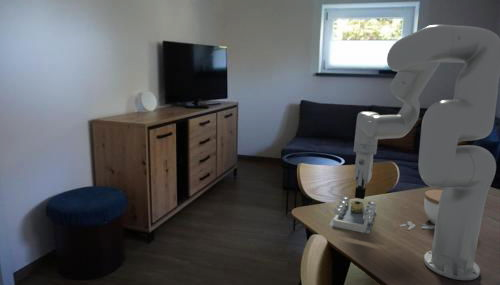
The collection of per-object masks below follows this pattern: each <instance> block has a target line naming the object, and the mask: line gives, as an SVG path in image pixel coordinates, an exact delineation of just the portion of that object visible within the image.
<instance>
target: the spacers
mask: <svg viewBox="0 0 500 285" xmlns="http://www.w3.org/2000/svg"><path fill="white" fill-rule="evenodd" d="M367 203H368V204H367V205H366V208H367V209H366V210H365V213H364V215H363V224H364V221H365V219H367V220H368V225H367V226H370V225H371V223H372V221H373V222H374V220H373V217H374V213H375V212H376V213H377V211H376V210H377V202H375V201H370V200H369V201H368V202H367ZM349 205H350V198H349V197H348V196H341V199H340V200H339V202H338V204H336V208H334V214H333V217H334V218H335V216H336V214H339V220H341V219H342V216H344V212H346V211H347V207H349ZM374 218H375V217H374ZM372 224H373V223H372Z"/></svg>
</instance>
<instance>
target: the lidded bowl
mask: <svg viewBox="0 0 500 285" xmlns="http://www.w3.org/2000/svg"><path fill="white" fill-rule="evenodd" d="M442 191H443V189H430V190H427V191H425V192H424V200H423V201H424V202H423V207H424V212H425V214H426V217H427V218H428V219H429V220H430V223H432V224H433V225H436V218H437V212H438V205H439V200H440V196H441V193H442Z"/></svg>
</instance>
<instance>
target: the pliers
mask: <svg viewBox="0 0 500 285" xmlns="http://www.w3.org/2000/svg"><path fill="white" fill-rule="evenodd" d="M406 223H407V224H406ZM406 223H403V224H400V225H398V227H399V228H404V227H408V228H407V231H411V230H413V229H415V228H416V224H414V223H413V222H412V221H409V220H408V221H407V222H406ZM420 229H421V230H433V229H434V230H435V224H433V225H429V224H422V223H421V227H420Z"/></svg>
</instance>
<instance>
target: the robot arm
mask: <svg viewBox="0 0 500 285" xmlns="http://www.w3.org/2000/svg"><path fill="white" fill-rule="evenodd" d="M386 63H387V66H388V68H389V69H390V70H391V71H393V72H396V74H395V76H394V78H393V80H392V81H391V83H390V85H389V89H390V92H391V94H392V95H394V96H395V97H396V99H398V100H400V101H402V102H403V105H402V107H401V108H400V110H399V112H398V113H397V114H381V115H380V113H379V112H375V111H360V112H358V114H357V117H356V124H355V134H354V146H353V152H354V153H356V156H355V165H354V173H353V174H354V175H353V176H354V177H353V178H354V181H355V182H356V186H355V191H354V192H355V194H354V198H355V199H359V200H365V197H366V191H367V190H366V189H367V188H366V186H367V184H369V183H370V180H371V179H372V175H373V163H374V162H373V161H374V155H376V154H377V150H378V140H386V139H400V138H404V137H406V135H407V134H409V133H410V131H411V130H412V129H413V127H414V126H415V125H416V122H418V119H419V117H420V112H421V111H420V110H421V106H420V104H421V103H420V99H419V97H420V95H421V94H422V92H423V90H424V89H425V87H426V86H427V85H428V83H429V81H430V80H431V78H432V77H433V75H434V73H435V72H436V71H437V69H438V68H439V66H440V65H441V63H457V64H459V63H461V64H464V65H463V66H462V68H461V70H460V71H459V73H458V75H457V78H456V81H455V85H454V94H453V99H442V100H439V101H436V102H434V103H432V104H431V105H430V106H429V107H428V108H427V110H426V111H425V112H424V115H423V117H422V121H421V129H420V140H419V150H418V172H419V176H420V178H421V180H422V181H423V182H424V184H426V185H427V186H429V187H431V188H435V189H442V190H443V191H442V193H441V196H440V200H439V205H438V212H437V218H436V225H435V224H434V225H435V229H434V231H433V238H432V247H431V250H429V251H426V252H425V253H424V255H423V259H422V260H423V263H424V264H425V266H426V267H428V269H429V270H431V271H433V272H435V273H436V274H438V275H440V276H442V277H445V278H449V279H452V280H458V281H472V280H476V279H478V278H479V276H480V274H481V268H480V267H479V265H478V264H477V263H476V262H475V260H476V259H475V258H476V254H477V248H478V242H479V238H480V237H479V236H480V231H481V225H482V220H483V215H484V209H485V204H486V200H487V196H488V193H489V190H490V188H491V185H492V183H493V181H494V179H495V175H496V171H497V163H496V159H495V157H494V155H493V153H491V152H490V151H489V150H488V149H486V148H484V147H482V146H478V145H471V144H468V145H458V143H459V142H467V141H477V140H482V139H485V138H487V137H488V136H489V135H491V133H492V131H493V129H494V125H495V117H496V111H497V110H496V108H497V100H498V93H499V84H500V37H499V35H498V34H497V33H495V31H494V32H493V31H492V30H489V29H488V28H483V27H478V26H472V25H471V26H470V25H454V24H453V25H451V24H432V25H428V26H426V27H424V28H421V29H419V30H417V31H415V32H412V33H410V34H408V35H406V36H404V37H402V38H400V39H398V40H397V41H396V42H395V43H393V45H391V47H390V49H389V50H388V53H387V58H386Z"/></svg>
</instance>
